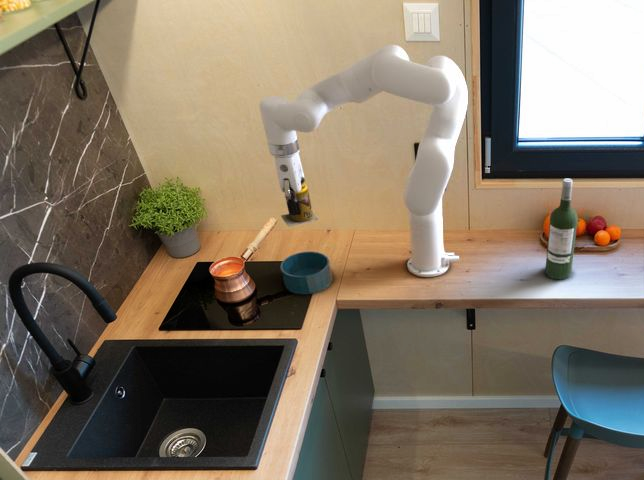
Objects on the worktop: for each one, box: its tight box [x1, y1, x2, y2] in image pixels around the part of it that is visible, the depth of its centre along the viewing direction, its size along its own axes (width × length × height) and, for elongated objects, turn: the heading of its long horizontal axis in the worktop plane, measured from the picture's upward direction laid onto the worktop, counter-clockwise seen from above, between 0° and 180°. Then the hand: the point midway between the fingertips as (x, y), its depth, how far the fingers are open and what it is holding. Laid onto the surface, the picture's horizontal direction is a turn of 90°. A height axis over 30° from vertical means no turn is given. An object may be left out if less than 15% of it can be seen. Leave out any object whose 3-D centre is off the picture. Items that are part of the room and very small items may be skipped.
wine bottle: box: [544, 177, 579, 280], centre depth 172 cm, size 8×8×30 cm
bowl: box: [280, 250, 333, 295], centre depth 172 cm, size 13×13×6 cm
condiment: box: [280, 176, 318, 228], centre depth 166 cm, size 7×8×12 cm
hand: (297, 208), depth 168 cm, fingers closed on condiment, 6 cm apart
